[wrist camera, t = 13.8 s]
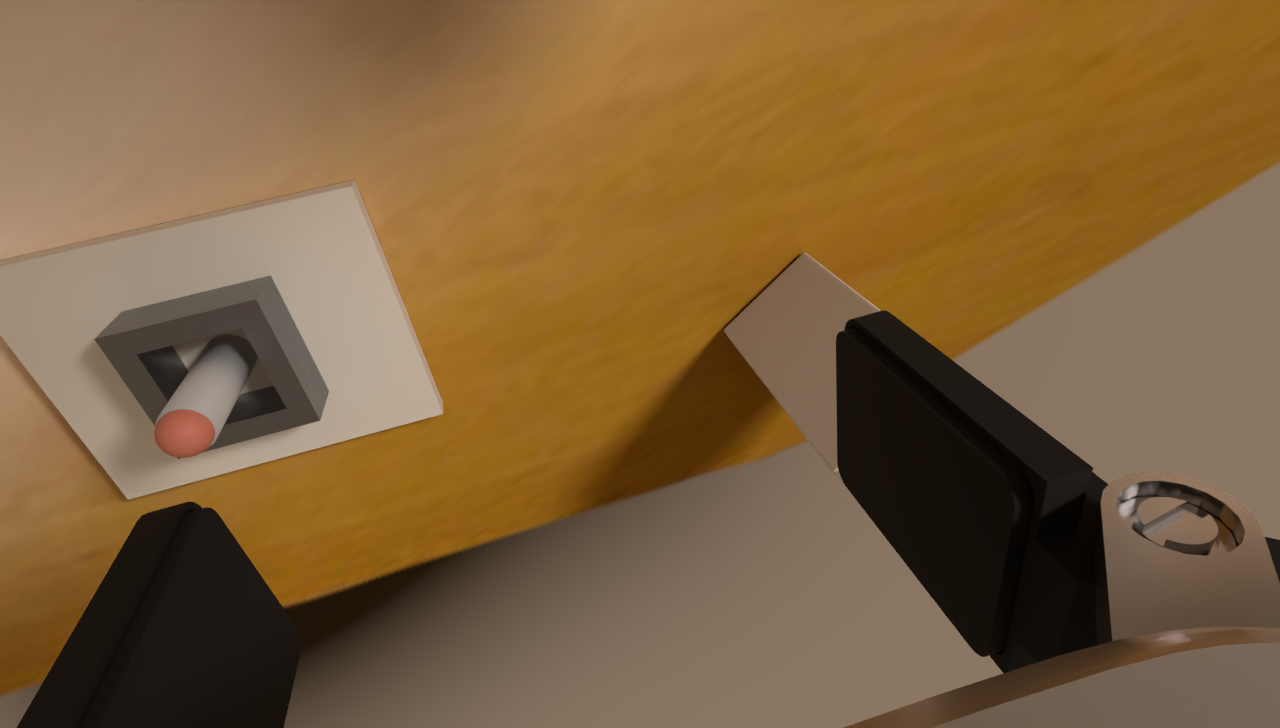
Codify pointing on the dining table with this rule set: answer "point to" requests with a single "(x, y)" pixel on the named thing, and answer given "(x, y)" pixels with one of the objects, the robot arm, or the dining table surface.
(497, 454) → the dining table surface
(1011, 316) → the dining table surface
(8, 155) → the dining table surface
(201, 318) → the grey square socket block
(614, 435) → the dining table surface
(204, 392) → the white peg stand
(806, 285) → the milk carton
